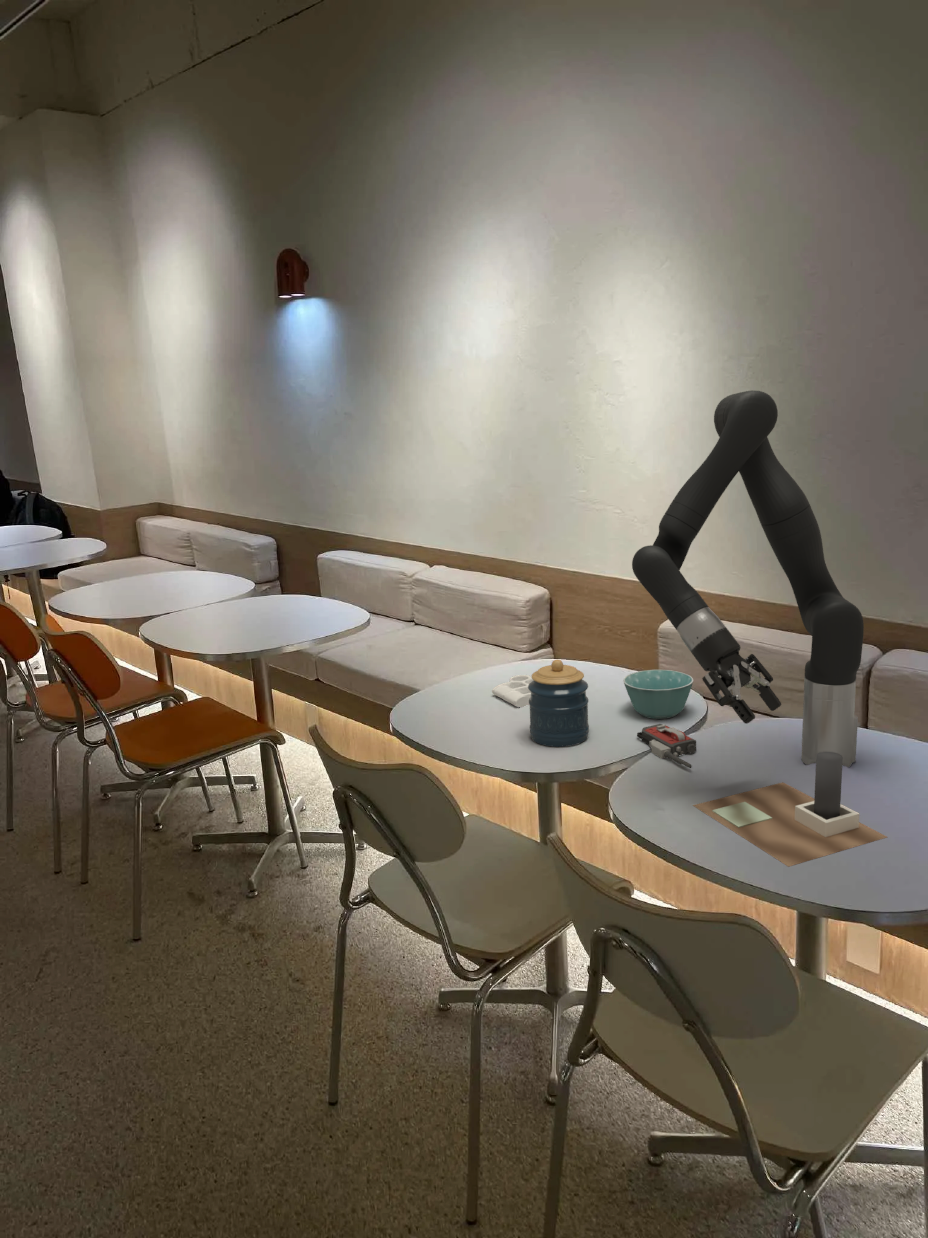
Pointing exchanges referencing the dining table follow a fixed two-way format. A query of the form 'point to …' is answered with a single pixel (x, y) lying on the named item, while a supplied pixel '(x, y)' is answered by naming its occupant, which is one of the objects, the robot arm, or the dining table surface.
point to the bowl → (658, 692)
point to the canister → (558, 705)
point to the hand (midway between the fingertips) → (764, 714)
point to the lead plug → (828, 784)
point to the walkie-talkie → (668, 742)
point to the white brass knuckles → (515, 690)
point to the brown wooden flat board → (781, 824)
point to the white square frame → (830, 826)
